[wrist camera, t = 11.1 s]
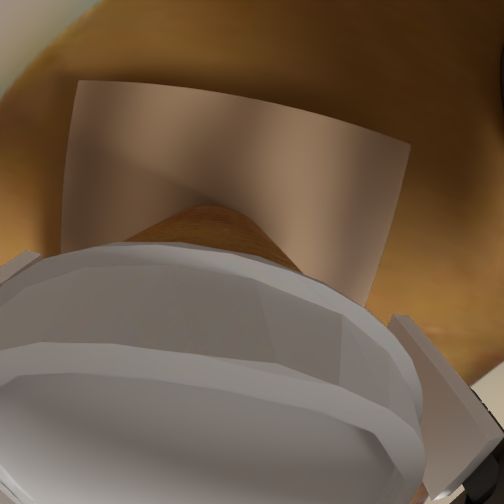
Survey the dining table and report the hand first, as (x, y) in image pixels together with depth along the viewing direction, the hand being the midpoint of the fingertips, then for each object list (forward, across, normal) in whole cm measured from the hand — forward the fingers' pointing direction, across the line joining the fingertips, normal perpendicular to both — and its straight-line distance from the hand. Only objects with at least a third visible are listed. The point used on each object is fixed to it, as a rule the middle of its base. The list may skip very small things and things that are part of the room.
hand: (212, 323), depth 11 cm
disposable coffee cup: (+5, 0, 0) cm, 5 cm away
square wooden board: (+8, 0, 0) cm, 8 cm away
